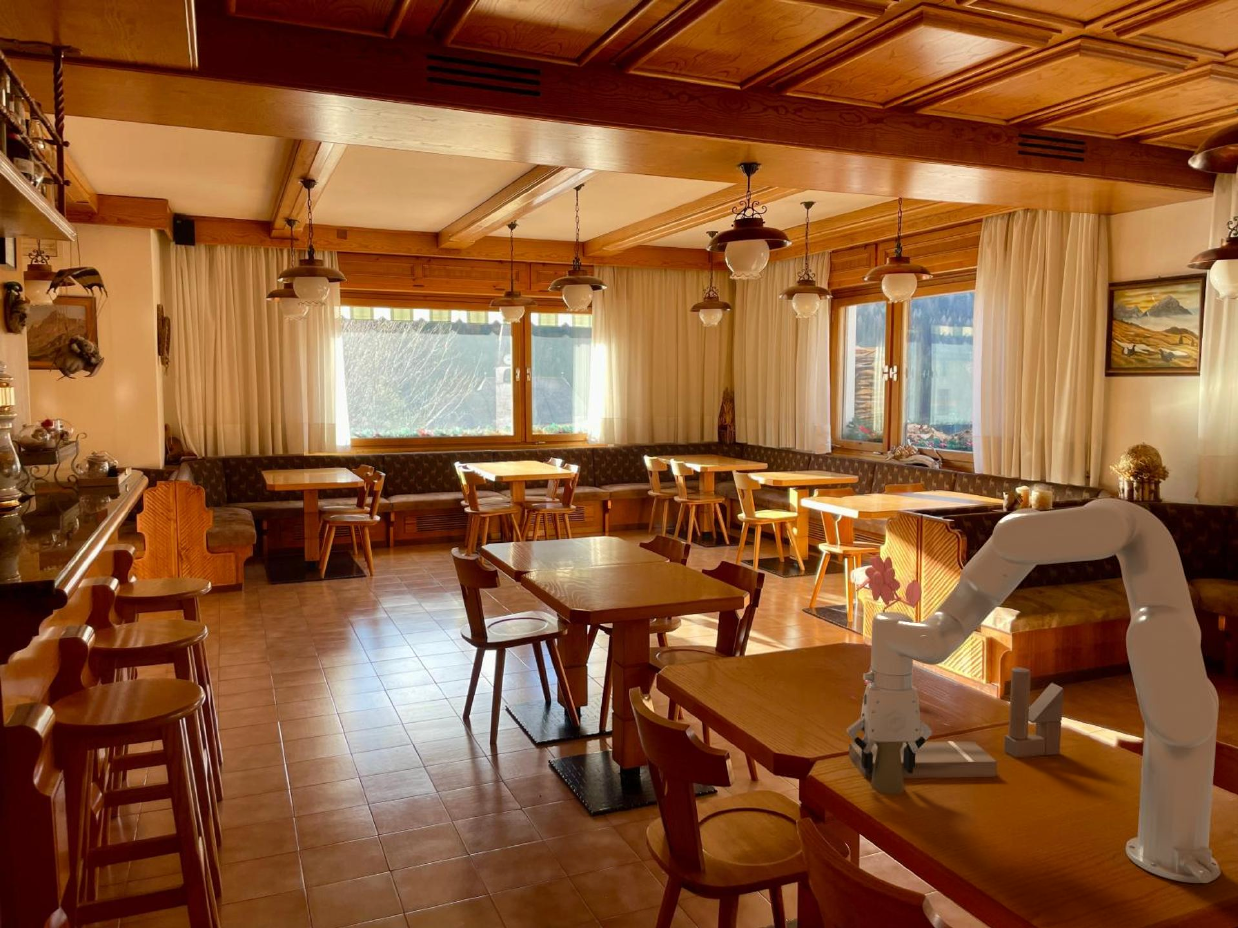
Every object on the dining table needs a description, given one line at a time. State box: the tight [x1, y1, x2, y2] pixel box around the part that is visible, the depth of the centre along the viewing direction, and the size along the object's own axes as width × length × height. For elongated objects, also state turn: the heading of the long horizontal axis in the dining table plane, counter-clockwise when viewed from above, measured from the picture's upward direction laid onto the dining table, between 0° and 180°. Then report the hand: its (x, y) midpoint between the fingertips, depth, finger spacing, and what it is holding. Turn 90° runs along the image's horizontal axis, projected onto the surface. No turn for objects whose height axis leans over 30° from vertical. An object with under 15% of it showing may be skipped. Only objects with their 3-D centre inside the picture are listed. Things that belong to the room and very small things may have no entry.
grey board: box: [848, 740, 998, 779], centre depth 176 cm, size 10×26×3 cm, turn 93°
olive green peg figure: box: [870, 742, 905, 795], centre depth 166 cm, size 6×6×11 cm
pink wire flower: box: [845, 554, 923, 702], centre depth 218 cm, size 15×26×35 cm, turn 19°
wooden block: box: [1003, 666, 1064, 758], centre depth 183 cm, size 4×11×18 cm, turn 102°
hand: (887, 769), depth 167 cm, fingers open, 7 cm apart
